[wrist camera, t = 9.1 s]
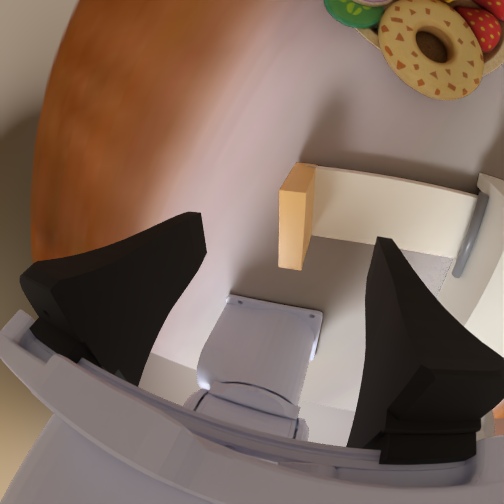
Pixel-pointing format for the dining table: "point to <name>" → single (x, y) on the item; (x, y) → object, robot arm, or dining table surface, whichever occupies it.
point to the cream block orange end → (369, 212)
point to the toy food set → (431, 40)
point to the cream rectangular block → (480, 269)
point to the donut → (486, 426)
